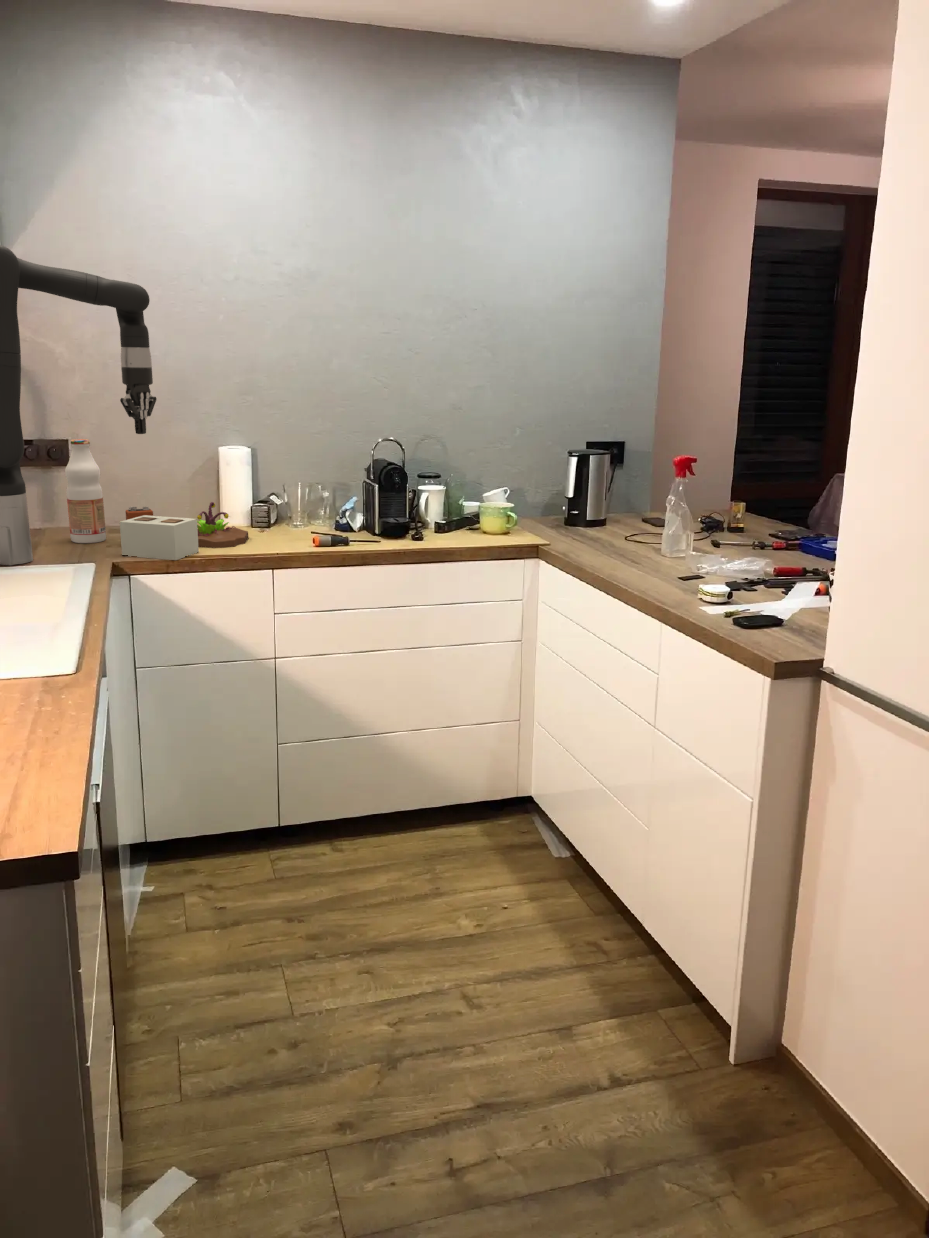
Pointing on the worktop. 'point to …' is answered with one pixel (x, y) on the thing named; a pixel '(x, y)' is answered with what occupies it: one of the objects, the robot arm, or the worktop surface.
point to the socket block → (159, 538)
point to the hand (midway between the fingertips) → (141, 433)
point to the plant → (218, 531)
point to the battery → (138, 512)
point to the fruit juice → (84, 495)
